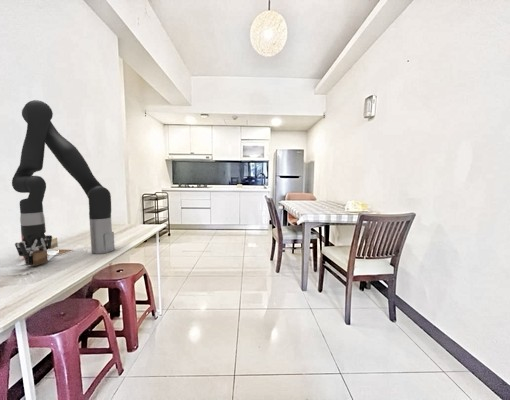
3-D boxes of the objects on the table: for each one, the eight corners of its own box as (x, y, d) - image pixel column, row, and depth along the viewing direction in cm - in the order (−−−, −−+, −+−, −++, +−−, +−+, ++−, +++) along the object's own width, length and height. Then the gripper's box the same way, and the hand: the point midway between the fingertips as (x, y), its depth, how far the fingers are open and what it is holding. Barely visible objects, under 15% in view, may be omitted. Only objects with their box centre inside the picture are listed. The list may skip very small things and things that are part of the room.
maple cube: (57, 246, 131) (57, 237, 131) (51, 248, 127) (50, 239, 126) (47, 246, 131) (46, 237, 130) (41, 249, 126) (40, 240, 125)
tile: (74, 250, 123) (74, 249, 123) (59, 255, 115) (59, 254, 115) (59, 250, 124) (59, 249, 124) (43, 255, 116) (43, 253, 115)
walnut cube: (47, 261, 104) (46, 250, 103) (36, 265, 99) (35, 253, 98) (37, 261, 104) (36, 250, 104) (25, 265, 99) (24, 253, 99)
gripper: (23, 226, 93) (27, 268, 94) (56, 220, 107) (59, 257, 108) (5, 226, 93) (10, 268, 95) (41, 220, 107) (44, 256, 109)
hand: (36, 262), depth 101 cm, fingers closed on walnut cube, 5 cm apart
